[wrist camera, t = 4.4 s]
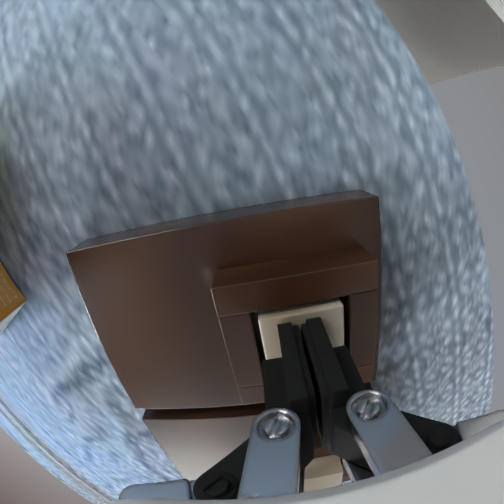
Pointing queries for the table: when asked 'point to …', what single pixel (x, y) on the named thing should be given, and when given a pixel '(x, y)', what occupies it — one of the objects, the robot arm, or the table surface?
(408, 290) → the table surface
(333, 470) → the key
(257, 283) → the keys low
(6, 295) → the small box
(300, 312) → the key
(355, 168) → the table surface
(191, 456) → the keys high
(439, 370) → the table surface
